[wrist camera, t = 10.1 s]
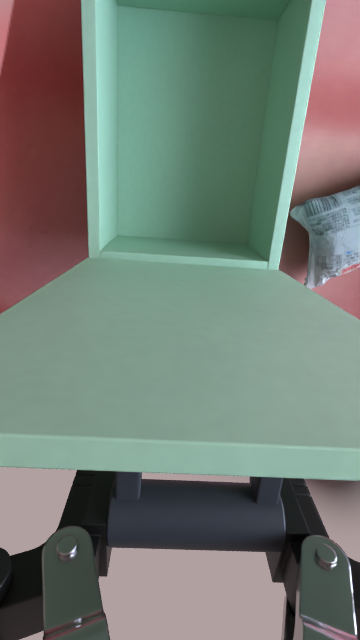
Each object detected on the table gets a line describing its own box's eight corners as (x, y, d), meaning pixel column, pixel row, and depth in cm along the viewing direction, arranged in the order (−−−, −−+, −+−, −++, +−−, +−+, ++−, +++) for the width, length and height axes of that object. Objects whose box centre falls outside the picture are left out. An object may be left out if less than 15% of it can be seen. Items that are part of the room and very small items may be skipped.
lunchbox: (107, -4, 28) (77, -90, 19) (287, 13, 28) (337, -63, 20) (109, 242, 35) (88, 261, 26) (252, 251, 36) (277, 273, 27)
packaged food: (410, 249, 36) (444, 258, 31) (298, 284, 37) (316, 297, 32) (402, 163, 33) (439, 159, 28) (282, 203, 34) (298, 206, 29)
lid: (-178, 426, 6) (-116, 620, 8) (583, 459, 7) (488, 633, 9) (87, 257, 26) (88, 324, 28) (280, 270, 26) (269, 334, 28)
